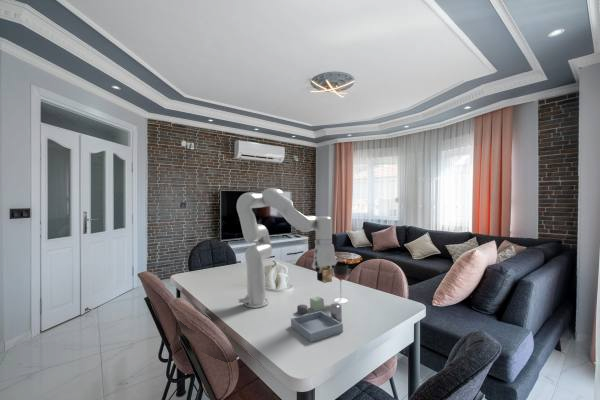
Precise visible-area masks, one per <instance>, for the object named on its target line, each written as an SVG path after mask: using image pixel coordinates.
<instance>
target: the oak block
mask: <svg viewBox="0 0 600 400" xmlns="http://www.w3.org/2000/svg"><path fill="white" fill-rule="evenodd" d="M319 268H320V267H319ZM321 273H322V281H320V282H321V283H323V284H327V283H332V281H333V269H330V268H328V267H327V266H325V267H322V271H321ZM316 281H319V280H318V278H317V277H316Z"/></svg>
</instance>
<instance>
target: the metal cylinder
mask: <svg viewBox="0 0 600 400" xmlns="http://www.w3.org/2000/svg"><path fill="white" fill-rule="evenodd" d="M342 307H343V306H342V304H341V303H331V304H330V317H332V318H334V319H335V320H337V321H339V322H340V323H342V322H343V319H342V313H343V312H342V310H343V309H342Z"/></svg>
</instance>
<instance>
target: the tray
mask: <svg viewBox="0 0 600 400" xmlns="http://www.w3.org/2000/svg"><path fill="white" fill-rule="evenodd" d="M343 325H344V324H343V323H342V322H341V323H340V322H339V321H337V320H335V319H334V318H332V317H331V315H328V314H327V313H325V312H324V311H322V310H317V311H315V312H311V313H307V314H303V315H300V316H297V317H293V318H290V327H291V328H292V329H294V330H295V331H296V332H298V334H300V335H301V336H302V337H304V339H306V340H308V341H309V342H310V343H313V342H316V341H319V340H323V339H325V338H328V337H333V336H334V335H337V334H340V333H343V332H344V326H343Z"/></svg>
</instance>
